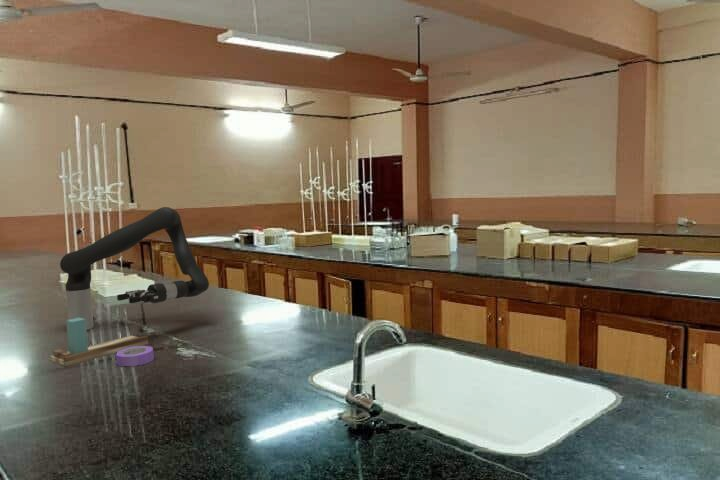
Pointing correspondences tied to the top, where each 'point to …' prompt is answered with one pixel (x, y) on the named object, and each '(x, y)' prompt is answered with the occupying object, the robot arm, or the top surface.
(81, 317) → the robot arm
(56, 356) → the board
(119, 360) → the masking tape
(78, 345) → the block
